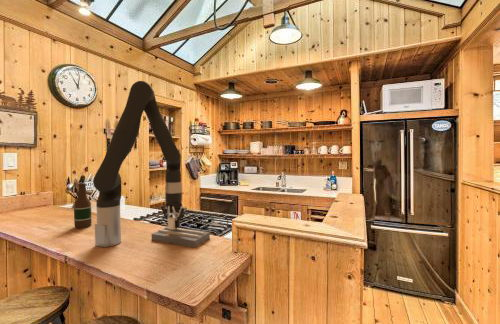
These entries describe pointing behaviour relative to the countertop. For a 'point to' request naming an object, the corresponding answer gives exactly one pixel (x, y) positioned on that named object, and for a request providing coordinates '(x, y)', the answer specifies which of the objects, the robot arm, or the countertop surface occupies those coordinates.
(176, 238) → the console
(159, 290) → the countertop surface
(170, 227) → the fader tab
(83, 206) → the beer bottle
